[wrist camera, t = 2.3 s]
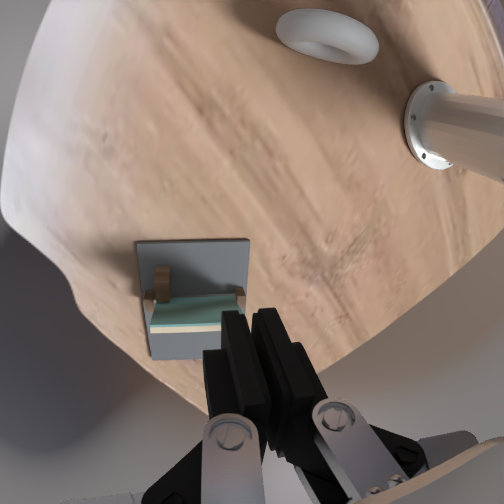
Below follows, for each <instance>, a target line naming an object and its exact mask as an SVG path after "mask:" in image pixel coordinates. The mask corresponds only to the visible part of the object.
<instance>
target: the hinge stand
mask: <svg viewBox="0 0 504 504" xmlns="http://www.w3.org/2000/svg"><path fill="white" fill-rule="evenodd" d="M154 288H155V296H154V290H145V296H144V303H145V311H146V312H153V311H154V306H155V303H156V302H170V298H182V297H209V296H232V295H233V297H234V299H235V300H236V302H237V304H238V306H239V307H240V309H241V308H245V303H246V294H245V292H244V289H243V287H235V293H231V294H207V295H178V296H171V278H170V266H156V271H155V279H154Z"/></svg>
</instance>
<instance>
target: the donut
mask: <svg viewBox="0 0 504 504" xmlns="http://www.w3.org/2000/svg"><path fill="white" fill-rule="evenodd" d="M276 34H277V36H278V38H279V39H280V40H281V42H282V43H283V44H285V45H286V46H288V47H289V48H291V49H293V50H295V51H297V52H299V53H302V54H305V55H308V56H311V57H315V58H318V59H322V60H326V61H330V62H336V63H341V64H350V65H359V64H365V63H368V62H370V61H372V60H373V59H374V58H375V57H376V55H377V53H378V50H379V43H378V40H377V38H376V36H375V34H374V33H373V32H372V31H371V30H370V29H369V28H368V27H367V26H365V25H364V24H363V23H361V22H359V21H357V20H355V19H353V18H351V17H349V16H346V15H344V14H341V13H338V12H334V11H329V10H324V9H314V8H303V9H294V10H292V11H290V12H287V13H285V14H283V15H282V16H281V17H280V18H279V20H278V22H277V25H276Z"/></svg>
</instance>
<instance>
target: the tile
mask: <svg viewBox="0 0 504 504" xmlns="http://www.w3.org/2000/svg"><path fill="white" fill-rule="evenodd" d="M228 310H238V311H239V314H243V312H242V311H241V309H240V307H239V306H238V304H237V302H236V300H235V299H234V297H233V295H232V296H209V297H182V298H170V302H156V304H155V307H154V311H153V315H152V318H151V322H150V333H183V332H207V331H221V313H222V311H228ZM246 320H247V319H246ZM247 323H248V321H247Z"/></svg>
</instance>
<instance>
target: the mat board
mask: <svg viewBox="0 0 504 504" xmlns="http://www.w3.org/2000/svg"><path fill="white" fill-rule="evenodd" d="M249 251H250V240H199V241H158V242H137V255H138V265H139V274H140V283H141V291H142V298H143V306H144V313H145V320H146V326H147V332H148V338H149V344H150V350H151V355H152V360H183V359H203V350H214V349H221V331H207V332H183V333H150V322H151V318H152V315H153V312H146V311H145V303H144V296H145V290H154V296H155V288H154V279H155V271H156V266H170V278H171V296H178V295H207V294H231V293H235V287H243V289H244V292H245V294H247V280H248V265H249ZM155 304H156V303H155ZM154 307H155V306H154ZM245 308H246V303H245ZM245 308H241V311H242V312H243V314H245Z"/></svg>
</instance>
